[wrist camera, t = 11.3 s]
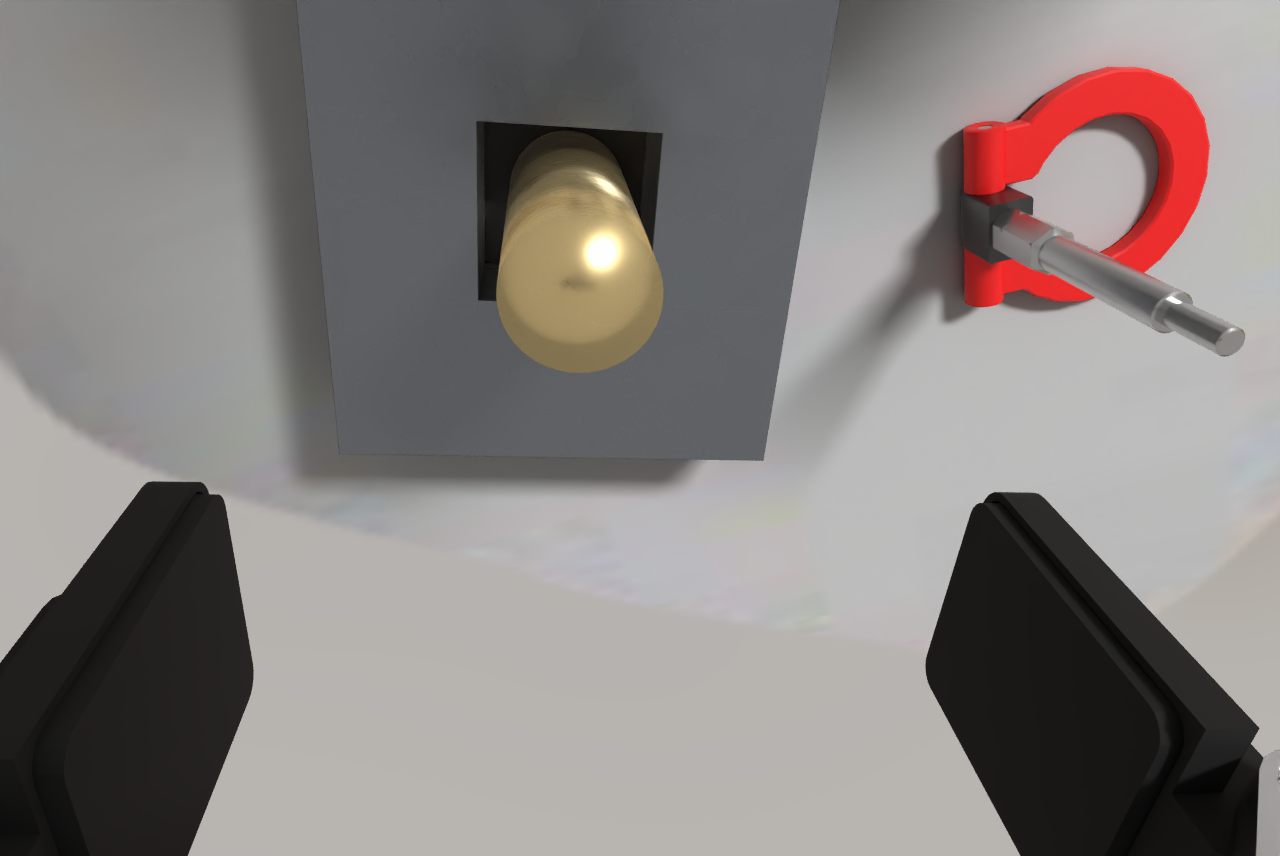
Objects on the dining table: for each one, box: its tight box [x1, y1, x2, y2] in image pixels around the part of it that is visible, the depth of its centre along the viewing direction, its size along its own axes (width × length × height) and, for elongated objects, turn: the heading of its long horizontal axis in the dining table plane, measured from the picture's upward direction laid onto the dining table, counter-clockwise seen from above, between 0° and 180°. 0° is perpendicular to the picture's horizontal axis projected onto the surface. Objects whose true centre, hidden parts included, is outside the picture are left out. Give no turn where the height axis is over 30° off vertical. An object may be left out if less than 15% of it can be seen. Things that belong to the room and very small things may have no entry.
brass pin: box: [496, 131, 664, 373], centre depth 26 cm, size 4×4×11 cm
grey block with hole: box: [296, 0, 840, 461], centre depth 28 cm, size 21×15×4 cm
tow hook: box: [961, 67, 1245, 357], centre depth 27 cm, size 8×13×9 cm
